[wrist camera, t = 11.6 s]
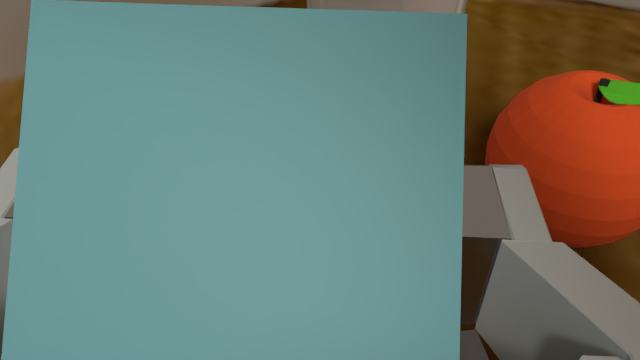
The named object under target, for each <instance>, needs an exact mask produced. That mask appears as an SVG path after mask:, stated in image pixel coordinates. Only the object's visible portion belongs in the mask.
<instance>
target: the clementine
mask: <svg viewBox="0 0 640 360" xmlns="http://www.w3.org/2000/svg"><path fill="white" fill-rule="evenodd" d="M489 164H502V165H523V166H524V167H525V168H526V169H527V171H528V174H529V177H530V180H531V183H532V185H533V188H534V191H535V194H536V197H537V199H538V202H539V205H540V208H541V211H542V213H543V216H544V219H545V222H546V225H547V227H548V230H549V233H550V236H551V239H552V241H553V242H563V243H564V244H566V245H567V246H568V247H574V248H583V247H592V246H599V245H604V244H610V243H612V242H615V241H618V240H620V239H623V238H625V237H627V236H629V235H630V234H632V233H633V232H635V231H637V230H638V229H640V84H639V83H633V82H630V81H628V80H626V79H624V78H621V77H619V76H616V75H613V74H610V73H605V72H600V71H590V70H583V71H571V72H566V73H562V74H557V75H553V76H549V77H545V78H543V79H541V80H539V81H537V82H536V83H534V84H532V85H531V86H529V87H527V88H526V89H524V90H522V91H521V92H519V93H518V94H517V95H516V96H515V97H514V98H513V99H512V101H511V102H510V103H509V104H508V105H507V106H506V107H505V108H504V110H503V111H502V112H501V113H500V114H499V115H498V116H497V119H496V121H495V123H494V126H493V128H492V130H491V132H490V135H489V139H488V142H487V147H486V158H485V165H489Z"/></svg>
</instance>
